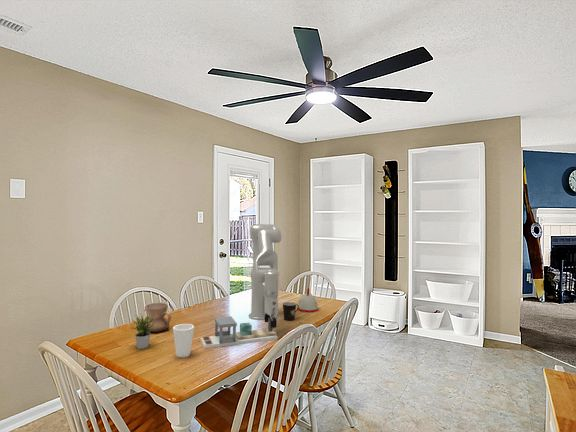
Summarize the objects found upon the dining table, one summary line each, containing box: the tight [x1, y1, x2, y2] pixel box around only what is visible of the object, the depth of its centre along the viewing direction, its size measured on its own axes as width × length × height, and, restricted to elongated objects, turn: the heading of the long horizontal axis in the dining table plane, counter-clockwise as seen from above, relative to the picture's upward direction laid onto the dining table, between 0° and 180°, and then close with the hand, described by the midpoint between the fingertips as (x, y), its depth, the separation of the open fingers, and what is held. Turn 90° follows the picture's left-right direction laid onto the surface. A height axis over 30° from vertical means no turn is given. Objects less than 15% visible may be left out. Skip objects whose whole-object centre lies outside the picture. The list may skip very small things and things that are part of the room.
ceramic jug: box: [143, 301, 172, 333], centre depth 196 cm, size 18×14×14 cm
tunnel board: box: [200, 315, 279, 350], centre depth 184 cm, size 38×13×11 cm, turn 113°
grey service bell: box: [297, 287, 319, 314], centre depth 245 cm, size 14×14×15 cm
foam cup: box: [172, 323, 195, 358], centre depth 163 cm, size 10×9×13 cm
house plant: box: [128, 313, 158, 350], centre depth 170 cm, size 14×14×16 cm
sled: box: [236, 317, 277, 339], centre depth 187 cm, size 21×8×8 cm, turn 113°
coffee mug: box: [282, 301, 299, 322], centre depth 222 cm, size 12×9×10 cm
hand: (270, 324), depth 191 cm, fingers open, 9 cm apart
